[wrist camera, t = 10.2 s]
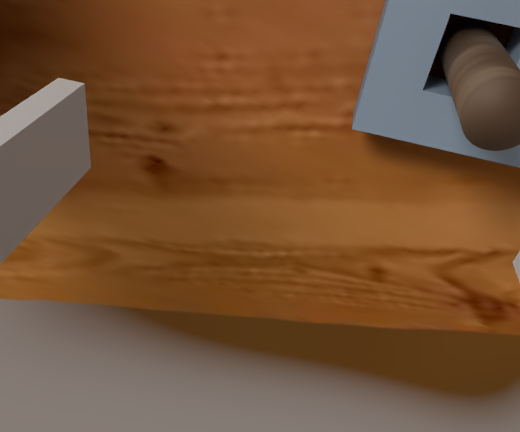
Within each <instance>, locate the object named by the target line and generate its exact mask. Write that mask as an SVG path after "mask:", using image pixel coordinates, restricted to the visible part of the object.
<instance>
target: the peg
mask: <svg viewBox="0 0 520 432" xmlns="http://www.w3.org/2000/svg"><path fill="white" fill-rule="evenodd" d="M439 57H440V60H441V63H442V67H443V70H444V73H445V76H446V79H447V82H448V86H449V89H450V92H451V95H452V98H453V102H454V105H455V108H456V111H457V114H458V117H459V121H460V124H461V127H462V130H463V133H464V135H465V137H466V138H467V139H468V140H469V142H471V143H472V144H473V145H475V146H476V147H478V148H481V149H484V150H489V151H502V150H507V149H510V148H513V147H516V146H518V145H520V69H519V68H518V66H517V65H516V64H515V62H514V61H513V59H512V58H511V57H510V55H509V54H508V52H507V51H506V50H505V48H504V47H503V46H502V44H501V43H500V41H499V40H498V39H497V37H496V36H495V34H494V33H493V32H492V30H491V29H490V28H489V26H488V25H486V24H485V23H484V22H481V21H479V20H474V19H468V20H463V21H460V22H458V23H456V24H454V25H452V26H451V27H450V28H449V29H448V30H447V31H446V32H445V33H444V35H443V36H442V39H441V42H440V44H439Z"/></svg>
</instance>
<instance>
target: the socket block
mask: <svg viewBox="0 0 520 432" xmlns="http://www.w3.org/2000/svg"><path fill="white" fill-rule="evenodd" d="M450 14H456V15H460V16H465V17H470V18H475V19H480V20H484V21H489V22H494V23H499V24H504V25H509V26H513V27H515V28H514V30H513V33H512V35H511V37H510V39H509V42H508V44H507V46H506V48H505V50H506V51H507V52H508V54H509V55H510V57H511V58H512V59H513V61H514V62H515V64H516V65H517V66H518V68H519V69H520V0H386V1H385V4H384V8H383V11H382V15H381V18H380V22H379V25H378V29H377V32H376V36H375V39H374V43H373V46H372V50H371V53H370V57H369V60H368V64H367V67H366V71H365V74H364V78H363V81H362V85H361V88H360V92H359V95H358V99H357V102H356V106H355V109H354V116H353V124H352V129H354V130H359V131H363V132H367V133H372V134H376V135H380V136H385V137H389V138H393V139H398V140H402V141H406V142H411V143H415V144H419V145H424V146H428V147H432V148H437V149H441V150H445V151H450V152H454V153H458V154H463V155H467V156H471V157H476V158H480V159H484V160H489V161H493V162H497V163H502V164H506V165H510V166H515V167H519V168H520V145H518V146H516V147H513V148H510V149H507V150H502V151H489V150H484V149H481V148H478V147H476V146H475V145H473V144H472V143H471V142H469V140H468V139H467V138H466V137H465V135H464V133H463V130H462V127H461V124H460V121H459V117H458V114H457V111H456V108H455V105H454V102H453V98H452V95H451V92H450V89H449V86H448V82H447V79H443V78H438V77H433V76H429V75H428V74H429V72H430V69H431V66H432V63H433V61H434V58H435V55H436V53H437V50H438V47H439V44H440V42H441V39H442V36H443V33H444V31H445V28H446V25H447V22H448V20H449V17H450Z"/></svg>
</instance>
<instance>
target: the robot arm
mask: <svg viewBox="0 0 520 432" xmlns="http://www.w3.org/2000/svg"><path fill="white" fill-rule="evenodd" d="M90 168H91V161H90V148H89V134H88V121H87V108H86V94H85V83H81V82H76V81H71V80H67V79H62V78H57V79H56V80H54V81H53V82H51V83H50V84H48V85H47V86H45V87H44V88H42V89H41V90H39V91H38V92H36V93H35V94H33V95H32V96H30V97H29V98H27V99H26V100H24V101H23V102H21V103H20V104H18V105H17V106H15V107H14V108H12V109H11V110H9V111H8V112H6V113H5V114H3V115H2V116H0V264H1V263H2V262H3V261H4V260H5V259H6V258H7V257H8V255H9V254H10V253H11V252H12V251H13V250H14V249H15V248H16V247H17V246H18V245H19V244H20V243H21V242H22V241H23V239H24V238H25V237H26V236H27V235H28V234H29V233H30V232H31V231H32V230H33V229H34V228H35V227H36V226H37V225H38V223H39V222H40V221H41V220H42V219H43V218H44V217H45V216H46V215H47V214H48V213H49V212H50V211H51V210H52V209H53V207H54V206H55V205H56V204H57V203H58V202H59V201H60V200H61V199H62V198H63V197H64V196H65V195H66V194H67V193H68V191H69V190H70V189H71V188H72V187H73V186H74V185H75V184H76V183H77V182H78V181H79V180H80V179H81V178H82V177H83V175H84V174H85V173H86V172H87V171H88V170H89V169H90ZM512 263H513V265H514V268H515V271H516V273H517V276H518V279H519V282H520V251H519V253H518V254H517V256H516V258H515V259H514V261H513V262H512Z"/></svg>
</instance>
